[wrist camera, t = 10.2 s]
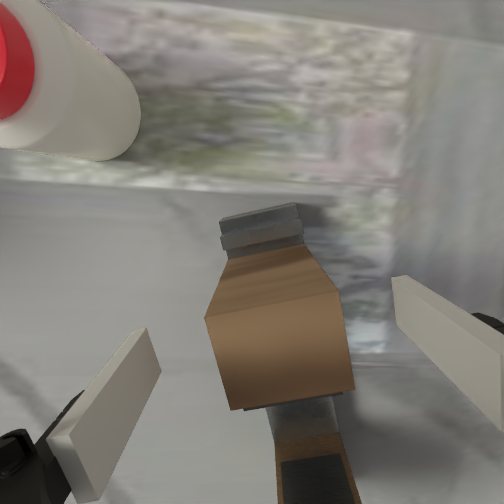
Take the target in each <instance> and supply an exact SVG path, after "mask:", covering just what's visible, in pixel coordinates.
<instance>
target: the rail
mask: <svg viewBox="0 0 504 504" xmlns="http://www.w3.org/2000/svg"><path fill="white" fill-rule="evenodd" d="M219 224H220V228H221V232H222V235H221V237H220V239H221V243H222V247H223V250H226V252H227V256H228V259H233V258H238V257H242V256H247V255H252V254H257V253H261V252H266V251H271V250H275V249H280V248H285V247H290V246H294V245H299V244H304V242H303V236H302V233H304V232H303V226H302V221H301V219H300V218H299V215H298V210H297V205H296V204H295V203H288V204H284V205H279V206H275V207H270V208H266V209H261V210H257V211H253V212H248V213H244V214H239V215H235V216H230V217H226V218H223V219H222V220H220V221H219ZM266 411H267V415H268V419H269V423H270V427H271V431H272V435H273V439H274V444H275V461H276V478H277V496H278V504H362V502H361V499H360V496H359V493H358V490H357V487H356V483H355V480H354V477H353V474H352V471H351V468H350V465H349V462H348V459H347V455H346V452H345V449H344V446H343V443H342V440H341V437H340V434H339V429H338V424H337V419H336V413H335V408H334V402H333V397H332V396H330V397H324V398H318V399H312V400H307V401H301V402H295V403H289V404H283V405H277V406H271V407H266Z"/></svg>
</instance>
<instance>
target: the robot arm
mask: <svg viewBox="0 0 504 504" xmlns="http://www.w3.org/2000/svg"><path fill="white" fill-rule="evenodd" d="M391 281H392V290H393V299H394V308H395V317H396V326H397V327H398V328H399V329H400V330H401V331H402V332H403V333H404V334H405V335H406V336H407V337H408V338H409V339H410V340H411V341H412V342H413V343H414V344H415V345H416V346H417V347H418V348H419V349H420V350H421V351H422V352H423V353H424V354H425V355H426V356H427V357H428V358H429V359H430V360H431V361H432V362H433V363H434V364H435V365H436V366H437V367H438V368H439V369H440V370H441V371H442V372H443V373H444V374H445V375H446V376H447V377H448V378H449V379H450V380H451V381H452V382H453V383H454V384H455V385H456V386H457V387H458V388H459V389H460V391H461V392H462V393H463V394H464V395H465V396H466V397H467V398H468V399H469V400H470V401H471V402H472V403H473V404H474V405H475V406H476V407H477V408H478V409H479V410H480V411H481V412H482V413H483V414H484V415H485V416H486V417H487V418H488V419H489V420H490V421H491V422H492V423H493V424H494V425H495V426H496V427H497V428H498V429H499V430H500V431H501V432H504V323H502V322H501V321H499V320H497V319H495V318H493V317H490V316H487V315H484V314H481V313H473V314H469V313H467V312H466V311H464V310H463V309H461V308H459V307H458V306H456V305H455V304H453V303H451V302H450V301H448V300H446V299H445V298H443V297H442V296H440V295H438V294H437V293H435V292H433V291H432V290H430V289H429V288H427V287H425V286H424V285H422V284H421V283H419V282H417V281H416V280H414V279H412V278H411V277H409V276H408V275H402V276H397V277H392V278H391ZM160 373H161V368H160V366H159V363H158V360H157V357H156V354H155V351H154V348H153V345H152V343H151V340H150V337H149V334H148V331H147V328H144V329H139V330H134V331H132V332H131V334H130V335H129V336H128V337H127V339H126V340H125V341H124V342H123V344H122V345H121V346H120V347H119V349H118V350H117V351H116V352H115V354H114V355H113V356H112V357H111V359H110V360H109V361H108V362H107V364H106V365H105V366H104V367H103V368H102V370H101V371H100V372H99V373H98V375H97V376H96V377H95V378H94V380H93V381H92V382H91V383H90V385H89V386H88V387H87V388H86V390H83V391H82V392H81V393H79V394H78V395H77V396H76V397H74V398H73V399H72V400H71V401H70V402H69V404H68V405H67V406H66V407H65V408H64V410H63V412H61V413H60V414H59V416H58V417H57V418H56V421H54V422H53V423H52V424H51V425H50V426H49V428H48V429H47V430H46V431H45V432H44V434H43V435H42V436H41V437H40V439H39V440H38V441H37V442H36V443H35V445H34V444H33V442H32V440H31V438H30V436H29V434H28V432H27V431H26V429H17V430H14V431H11V432H9V433H7V434H5V435H3V436H1V437H0V504H64V502H65V500H66V498H67V497H68V495H69V493H70V492H71V491H72V493H73V495H74V497H75V499H76V501H77V504H80V503H86V502H92V501H98V500H100V498H101V495H102V493H103V491H104V489H105V487H106V485H107V483H108V481H109V479H110V477H111V475H112V473H113V471H114V469H115V466H116V464H117V462H118V460H119V458H120V456H121V454H122V452H123V450H124V448H125V446H126V444H127V442H128V440H129V437H130V435H131V433H132V431H133V429H134V427H135V425H136V423H137V421H138V419H139V417H140V415H141V413H142V411H143V409H144V406H145V404H146V402H147V400H148V398H149V396H150V394H151V392H152V390H153V388H154V386H155V384H156V382H157V380H158V377H159V375H160Z"/></svg>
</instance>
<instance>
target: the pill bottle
mask: <svg viewBox="0 0 504 504" xmlns="http://www.w3.org/2000/svg"><path fill="white" fill-rule="evenodd" d="M140 121H141V106H140V102H139V97H138V94H137V92H136V89H135V87H134V85H133V83H132V82H131V80H130V79H129V77H128V76H127V75H126V74H125V73H124V71H123V70H122V69H121V68H120V67H119V66H117V65H116V64H115V63H114V62H113V61H111V60H110V59H109V58H108V57H107V56H105V55H104V54H103V53H102V52H101V51H99V50H98V49H97V48H96V47H94V46H93V45H92V44H91V43H90V42H88V41H87V40H86V39H85V38H84V37H82V36H81V35H80V34H79V33H78V32H76V31H75V30H74V29H73V28H72V27H70V26H69V25H68V24H67V23H66V22H64V21H63V20H62V19H61V18H60V17H58V16H57V15H56V14H55V13H54V12H52V11H51V10H50V9H49V8H48V7H46V6H45V5H44V4H43V3H41V2H40V1H39V0H0V148H4V149H10V150H17V151H25V152H32V153H39V154H46V155H54V156H61V157H68V158H75V159H83V160H90V161H105V160H110V159H113V158H115V157H118V156H119V155H121V154H122V153H124V152H125V151H126V150H127V149H128V148H129V147H130V146H131V145H132V143H133V141H134V140H135V138H136V136H137V133H138V130H139V128H140Z"/></svg>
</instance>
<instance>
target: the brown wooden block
mask: <svg viewBox="0 0 504 504" xmlns="http://www.w3.org/2000/svg"><path fill="white" fill-rule="evenodd" d="M204 319H205V322H206V326H207V329H208V333H209V336H210V340H211V343H212V347H213V350H214V354H215V357H216V361H217V364H218V368H219V371H220V375H221V378H222V382H223V385H224V389H225V392H226V396H227V399H228V403H229V406H230V410H237V409H244V411H248V410H254V409H259V408H265V407H271V406H277V405H283V404H289V403H295V402H301V401H307V400H312V399H318V398H324V397H330V396H336V395H342V394H343V391H349V390H354V389H355V386H354V380H353V374H352V368H351V362H350V356H349V350H348V344H347V337H346V331H345V325H344V319H343V313H342V307H341V301H340V295H339V291H338V289H337V288H336V287H335V285H334V284H333V283H332V281H331V280H330V278H329V277H328V276H327V274H326V273H325V272H324V270H323V269H322V268H321V266H320V265H319V264H318V262H317V261H316V260H315V258H314V257H313V256H312V254H311V253H310V251H309V250H308V249H307V247H306V246H305V245H304V244H299V245H294V246H290V247H285V248H280V249H275V250H271V251H266V252H261V253H257V254H252V255H247V256H242V257H238V258H233V259H228V261H227V264H226V266H225V268H224V271H223V273H222V276H221V278H220V281H219V283H218V285H217V288H216V290H215V293H214V295H213V298H212V300H211V302H210V305H209V307H208V310H207V312H206V314H205V317H204Z"/></svg>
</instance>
